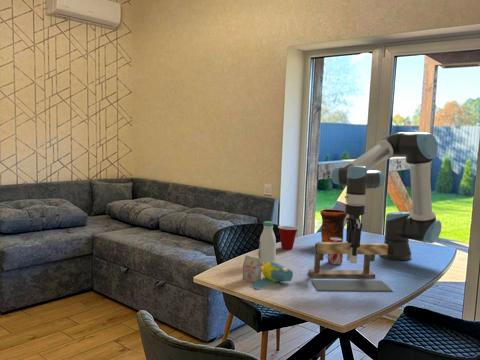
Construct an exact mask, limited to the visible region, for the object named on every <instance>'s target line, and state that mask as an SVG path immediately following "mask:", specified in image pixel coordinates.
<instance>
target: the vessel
mask: <svg viewBox="0 0 480 360" xmlns="http://www.w3.org/2000/svg"><path fill="white" fill-rule="evenodd" d="M319 213H320V216H321V220H322V221H321V231H320V233H321V236H320V237H321V242H329V240H330V238H332V237H337V238H341V239H342V241H343V242H344V228H345V227H344V226H345V224H344V222H345V221H346V218H347V216H348V214H346V213H345V210H340V209H334V208H324V209H320V212H319Z"/></svg>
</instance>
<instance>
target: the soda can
mask: <svg viewBox="0 0 480 360" xmlns="http://www.w3.org/2000/svg"><path fill="white" fill-rule="evenodd" d="M329 242H344V240H343V241H342V239H341V238H337V237H332V238H330V240H329ZM343 258H344V254H327V262H328V263H329V264H330V265H340V264H342V263H343Z"/></svg>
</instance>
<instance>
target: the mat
mask: <svg viewBox="0 0 480 360" xmlns="http://www.w3.org/2000/svg"><path fill="white" fill-rule="evenodd" d="M311 283H312V285H313V286H314V287H315V289H316V291H317V292H367V293H368V292H372V293H373V292H375V293H376V292H378V293H379V292H386V293H387V292H390V293H392V292H393V290H392V289H391V287H390V286H388V285H387V284H386V283H385V282H384V281H383V280H380V279H379V280H377V279H376V280H374V279H373V280H369V279H367V280H363V279H362V280H361V279H359V280H356V279H353V280H352V279H350V280H349V279H311Z"/></svg>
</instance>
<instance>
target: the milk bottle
mask: <svg viewBox="0 0 480 360" xmlns="http://www.w3.org/2000/svg"><path fill="white" fill-rule="evenodd" d="M262 224H263V225H262V226H263V230H262V231H261V234H260V237H259V246H258V258H259V261H260V265H261V266H262V263H264V265H265V264H267V263H271V262H270V261H274V262H276V252H277V251H276V249H277V247H276V246H277V244H276V243H277V241H276V240H277V238H276V235H275V232H274V230H273V229H274V222H273V221H270V220H269V221H268V220H265V221H263V222H262Z"/></svg>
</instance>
